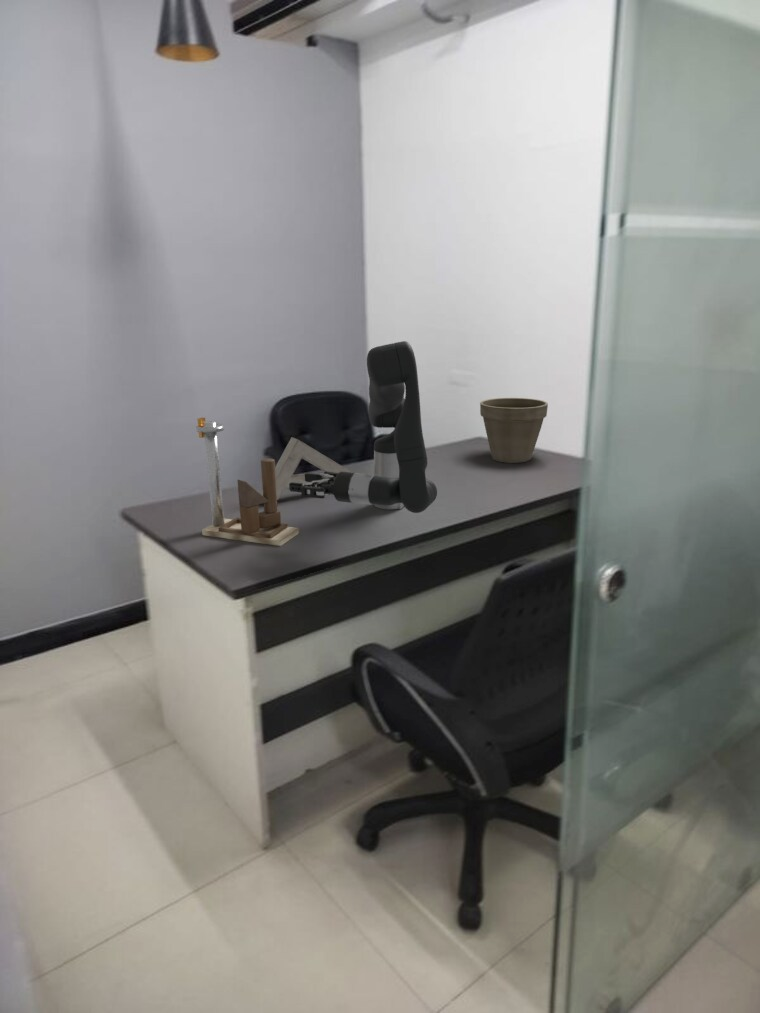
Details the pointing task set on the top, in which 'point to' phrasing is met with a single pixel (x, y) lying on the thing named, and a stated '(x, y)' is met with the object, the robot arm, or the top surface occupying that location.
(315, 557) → the top surface
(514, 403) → the plant pot
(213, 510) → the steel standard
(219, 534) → the seat board
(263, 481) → the wooden block
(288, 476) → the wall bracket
